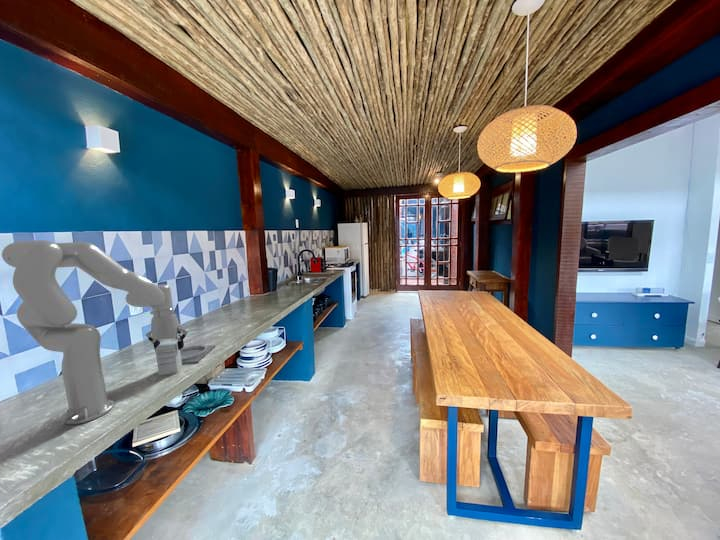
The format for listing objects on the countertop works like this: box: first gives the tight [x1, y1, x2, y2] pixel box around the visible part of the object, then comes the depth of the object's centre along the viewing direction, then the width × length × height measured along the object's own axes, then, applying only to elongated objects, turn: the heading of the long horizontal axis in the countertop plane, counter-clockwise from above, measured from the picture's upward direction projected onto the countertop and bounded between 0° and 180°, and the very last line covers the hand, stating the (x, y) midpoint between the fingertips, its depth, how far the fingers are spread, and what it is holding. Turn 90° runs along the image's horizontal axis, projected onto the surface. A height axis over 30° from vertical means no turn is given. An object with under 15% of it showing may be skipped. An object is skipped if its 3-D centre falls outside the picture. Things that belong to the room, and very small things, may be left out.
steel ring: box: [180, 344, 208, 360], centre depth 144 cm, size 15×15×2 cm
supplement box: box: [154, 339, 183, 376], centre depth 127 cm, size 7×7×13 cm
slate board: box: [181, 344, 216, 365], centre depth 144 cm, size 20×16×1 cm
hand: (169, 349), depth 127 cm, fingers open, 9 cm apart
